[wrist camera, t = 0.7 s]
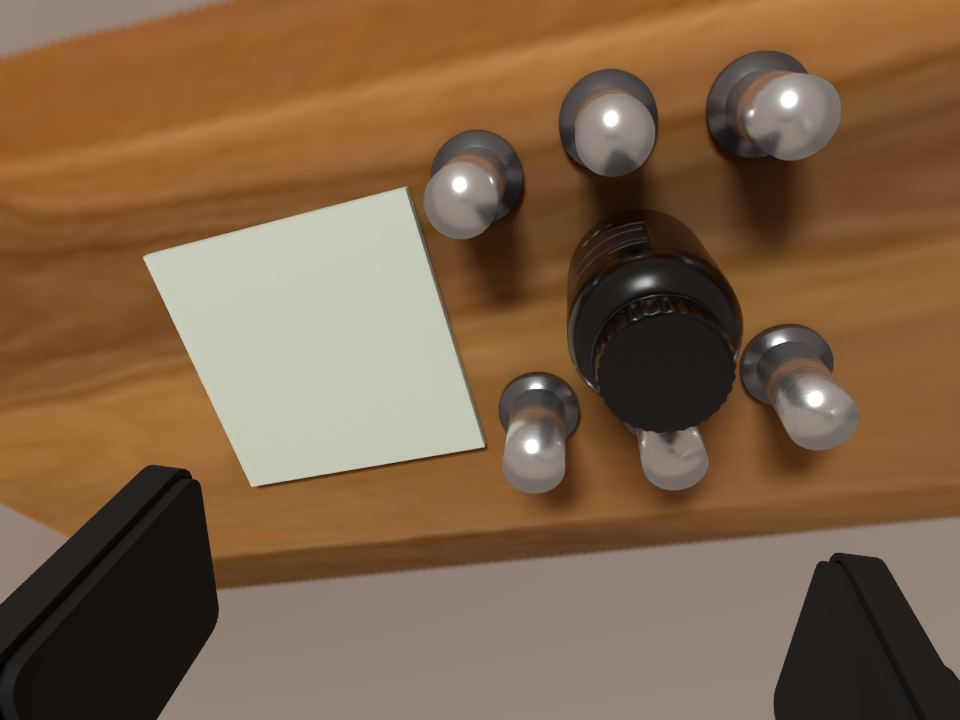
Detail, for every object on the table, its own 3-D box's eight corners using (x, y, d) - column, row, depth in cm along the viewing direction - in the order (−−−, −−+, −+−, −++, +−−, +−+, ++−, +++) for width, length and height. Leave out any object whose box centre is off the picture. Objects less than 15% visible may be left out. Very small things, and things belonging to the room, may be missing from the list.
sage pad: (407, 185, 34) (405, 188, 33) (485, 441, 40) (484, 447, 39) (148, 253, 37) (142, 257, 37) (255, 481, 43) (251, 486, 42)
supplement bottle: (734, 281, 34) (811, 392, 23) (622, 360, 36) (645, 494, 26) (650, 174, 32) (690, 241, 21) (539, 264, 35) (525, 364, 24)
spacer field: (803, 12, 29) (857, 5, 23) (833, 409, 36) (879, 473, 31) (415, 122, 33) (384, 137, 27) (514, 461, 40) (505, 527, 34)
